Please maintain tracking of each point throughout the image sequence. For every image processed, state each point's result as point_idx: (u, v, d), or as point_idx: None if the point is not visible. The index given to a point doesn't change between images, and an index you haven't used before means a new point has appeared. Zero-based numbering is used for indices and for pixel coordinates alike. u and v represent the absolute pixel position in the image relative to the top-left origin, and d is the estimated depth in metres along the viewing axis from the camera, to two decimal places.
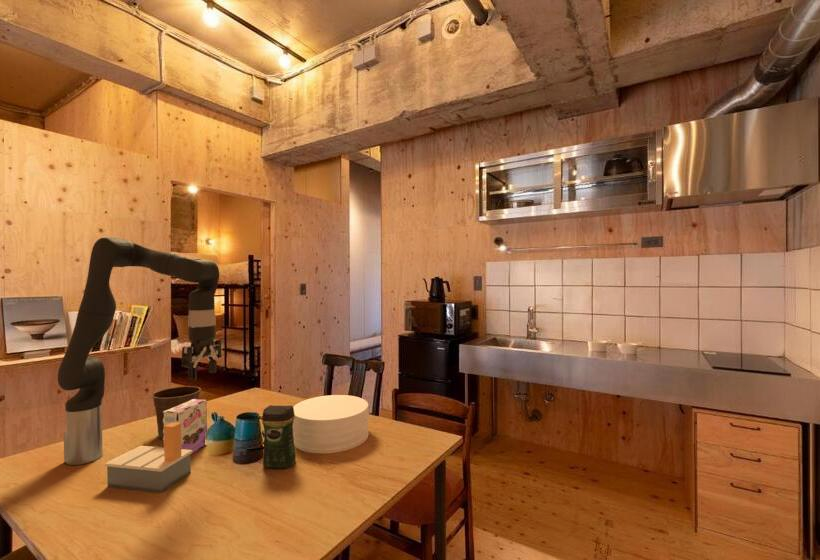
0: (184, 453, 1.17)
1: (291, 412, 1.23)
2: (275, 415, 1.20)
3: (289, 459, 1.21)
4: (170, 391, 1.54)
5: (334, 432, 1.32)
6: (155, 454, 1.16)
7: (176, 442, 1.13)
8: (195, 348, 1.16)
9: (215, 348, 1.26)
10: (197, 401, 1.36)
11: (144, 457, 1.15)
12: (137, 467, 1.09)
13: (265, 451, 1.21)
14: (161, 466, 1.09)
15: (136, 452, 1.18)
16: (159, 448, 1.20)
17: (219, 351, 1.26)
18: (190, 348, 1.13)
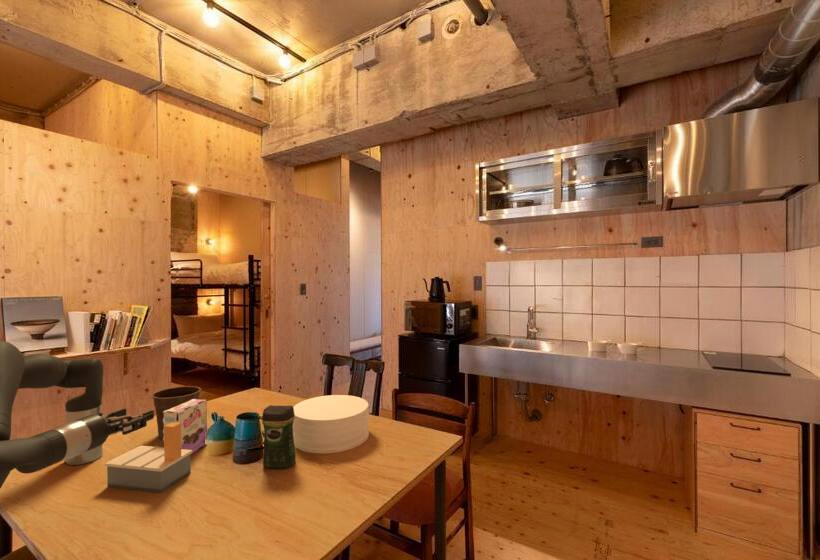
0: (184, 453, 1.17)
1: (291, 412, 1.23)
2: (275, 415, 1.20)
3: (289, 459, 1.21)
4: (170, 391, 1.54)
5: (334, 432, 1.32)
6: (155, 454, 1.16)
7: (176, 442, 1.13)
8: None
9: None
10: (197, 401, 1.36)
11: (144, 457, 1.15)
12: (137, 467, 1.09)
13: (265, 451, 1.21)
14: (161, 466, 1.09)
15: (136, 452, 1.18)
16: (159, 448, 1.20)
17: None
18: None
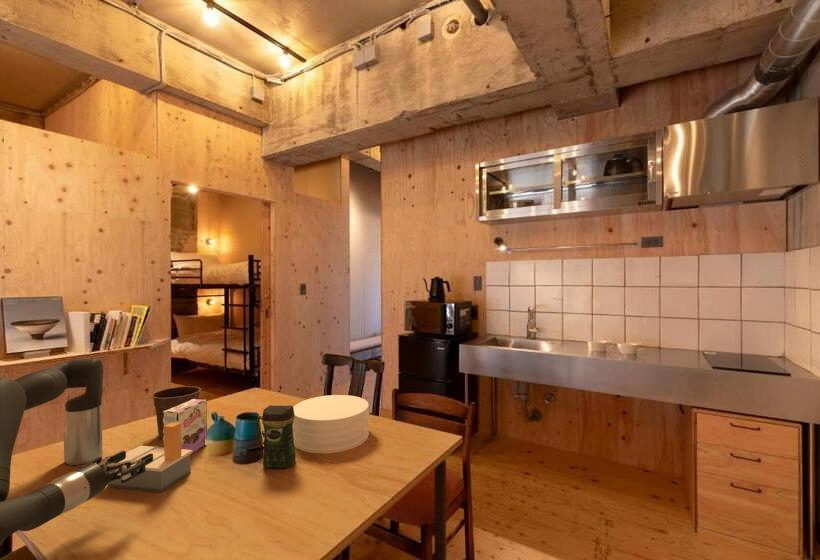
0: (184, 453, 1.17)
1: (291, 412, 1.23)
2: (275, 415, 1.20)
3: (289, 458, 1.21)
4: (170, 391, 1.54)
5: (334, 432, 1.32)
6: (155, 454, 1.16)
7: (176, 442, 1.13)
8: None
9: None
10: (197, 401, 1.36)
11: None
12: None
13: (265, 451, 1.21)
14: (161, 466, 1.09)
15: (136, 452, 1.18)
16: (159, 448, 1.20)
17: None
18: None
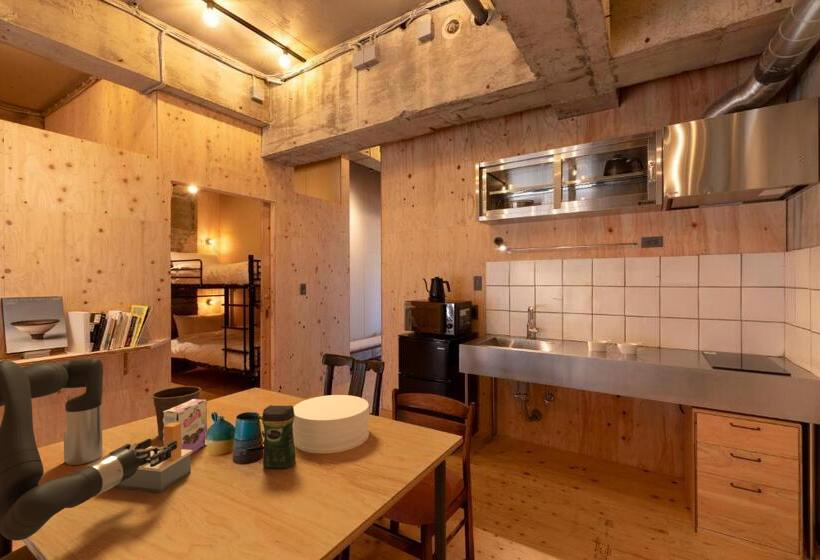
0: (184, 453, 1.17)
1: (291, 412, 1.23)
2: (275, 415, 1.20)
3: (289, 458, 1.21)
4: (170, 391, 1.54)
5: (334, 432, 1.32)
6: None
7: None
8: None
9: None
10: (197, 401, 1.36)
11: None
12: None
13: (265, 451, 1.21)
14: (161, 466, 1.09)
15: None
16: None
17: None
18: None
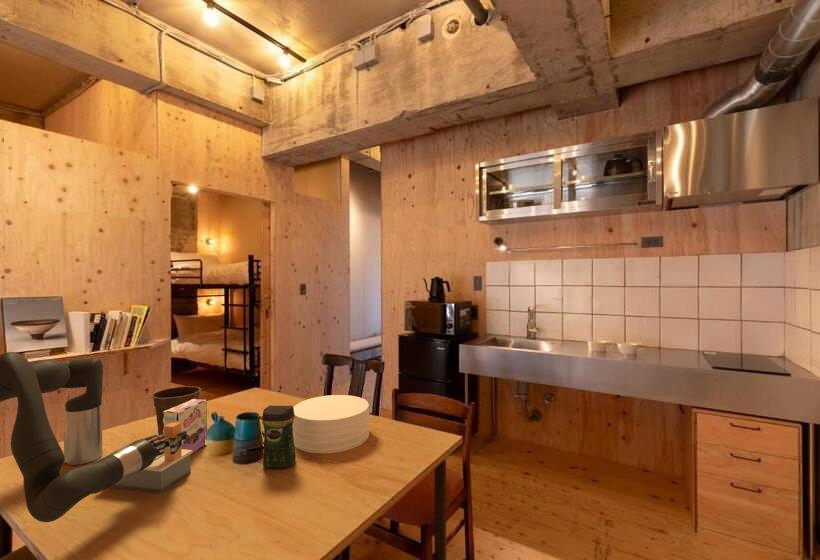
0: (184, 453, 1.17)
1: (291, 412, 1.23)
2: (275, 415, 1.20)
3: (289, 458, 1.21)
4: (170, 391, 1.54)
5: (335, 432, 1.32)
6: None
7: None
8: None
9: None
10: (197, 401, 1.36)
11: None
12: None
13: (265, 451, 1.21)
14: (161, 466, 1.09)
15: None
16: None
17: None
18: None
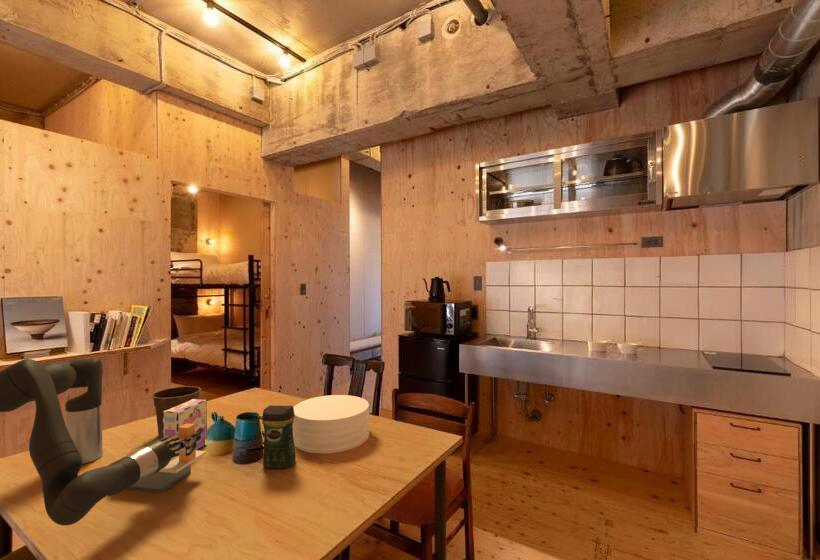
0: (198, 454, 1.16)
1: (291, 412, 1.23)
2: (275, 415, 1.20)
3: (289, 459, 1.21)
4: (170, 391, 1.54)
5: (335, 432, 1.32)
6: None
7: None
8: None
9: None
10: (197, 401, 1.36)
11: None
12: None
13: (265, 451, 1.21)
14: (176, 467, 1.08)
15: None
16: None
17: None
18: None
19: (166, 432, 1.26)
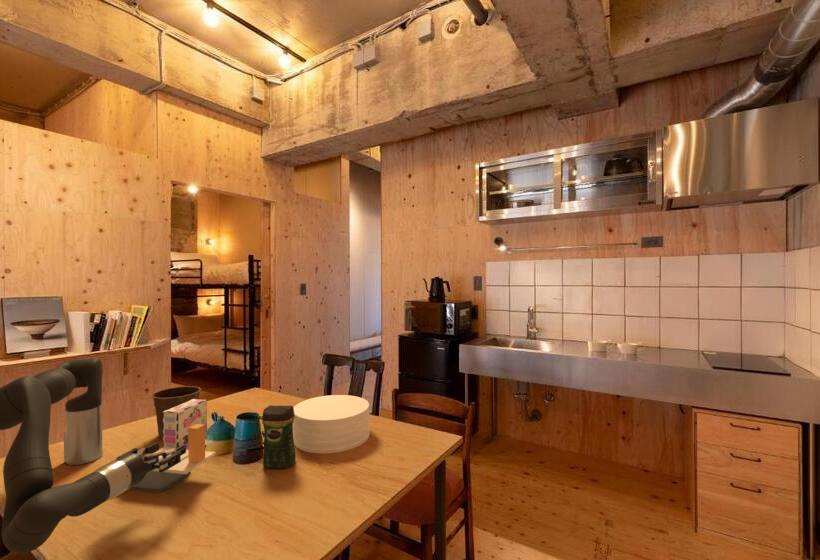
0: (207, 455, 1.15)
1: (291, 412, 1.23)
2: (275, 415, 1.20)
3: (289, 458, 1.21)
4: (170, 391, 1.54)
5: (335, 432, 1.32)
6: None
7: (200, 444, 1.11)
8: None
9: None
10: (197, 401, 1.36)
11: None
12: None
13: (265, 451, 1.21)
14: (186, 468, 1.07)
15: None
16: None
17: None
18: None
19: (166, 432, 1.26)
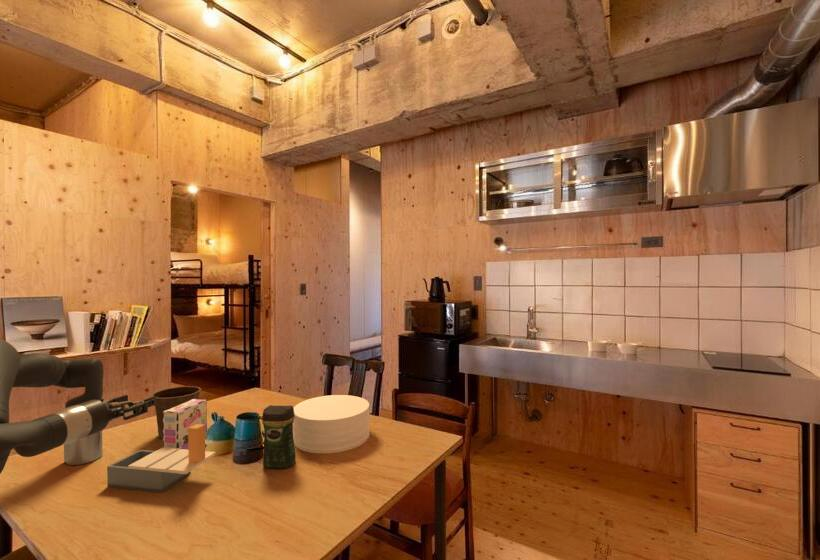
0: (207, 455, 1.15)
1: (291, 412, 1.23)
2: (275, 415, 1.20)
3: (289, 458, 1.21)
4: (170, 391, 1.54)
5: (335, 432, 1.32)
6: (178, 456, 1.15)
7: (200, 444, 1.11)
8: None
9: None
10: (197, 401, 1.36)
11: (167, 459, 1.13)
12: (161, 469, 1.07)
13: (265, 451, 1.21)
14: (186, 468, 1.07)
15: (159, 454, 1.16)
16: (182, 450, 1.19)
17: None
18: None
19: (166, 432, 1.26)
